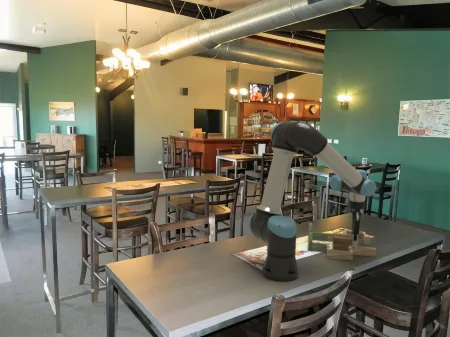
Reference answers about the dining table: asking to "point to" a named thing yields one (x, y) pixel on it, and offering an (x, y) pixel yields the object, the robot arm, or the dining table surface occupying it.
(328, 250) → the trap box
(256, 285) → the dining table surface
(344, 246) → the block
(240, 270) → the dining table surface
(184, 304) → the dining table surface
